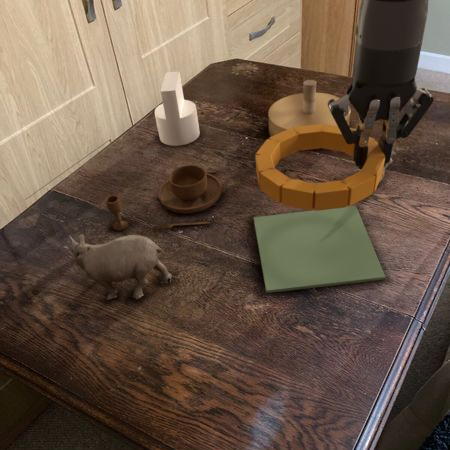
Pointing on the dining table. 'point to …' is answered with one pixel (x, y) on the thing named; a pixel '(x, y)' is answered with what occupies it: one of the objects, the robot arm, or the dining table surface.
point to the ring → (316, 192)
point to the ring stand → (302, 110)
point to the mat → (315, 249)
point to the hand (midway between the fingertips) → (370, 164)
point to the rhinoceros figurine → (119, 261)
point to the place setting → (179, 194)
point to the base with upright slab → (176, 113)
